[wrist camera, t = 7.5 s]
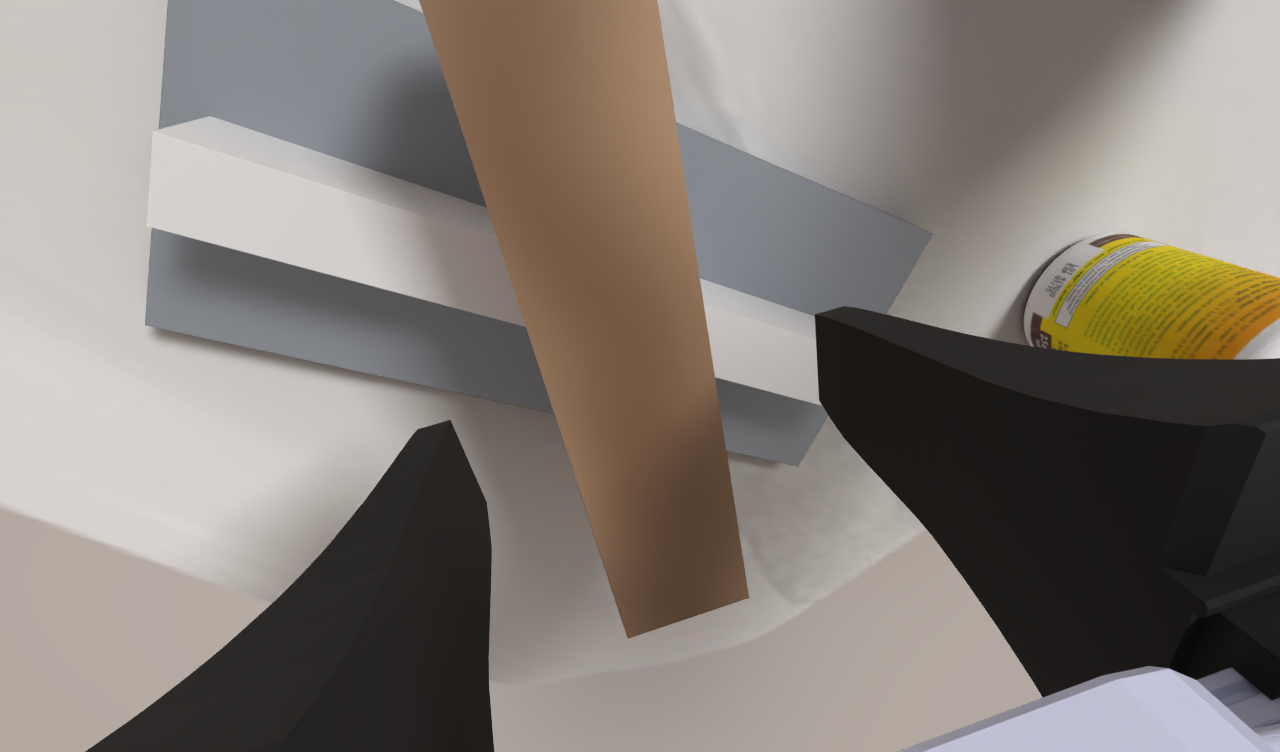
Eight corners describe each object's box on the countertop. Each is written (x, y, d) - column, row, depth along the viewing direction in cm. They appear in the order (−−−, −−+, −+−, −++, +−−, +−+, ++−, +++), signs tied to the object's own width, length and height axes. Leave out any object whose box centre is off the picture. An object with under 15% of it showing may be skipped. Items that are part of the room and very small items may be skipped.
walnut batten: (591, -86, 12) (635, -138, 9) (703, 504, 20) (748, 597, 17) (416, -49, 12) (391, -87, 8) (602, 536, 20) (627, 638, 16)
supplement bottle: (989, 325, 25) (1270, 480, 16) (1089, 202, 23) (1465, 299, 14) (1064, 374, 27) (1345, 533, 18) (1159, 266, 25) (1520, 383, 16)
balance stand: (914, 225, 22) (996, 259, 18) (787, 452, 25) (835, 515, 22) (193, -86, 14) (98, -129, 10) (161, 311, 17) (83, 376, 14)
